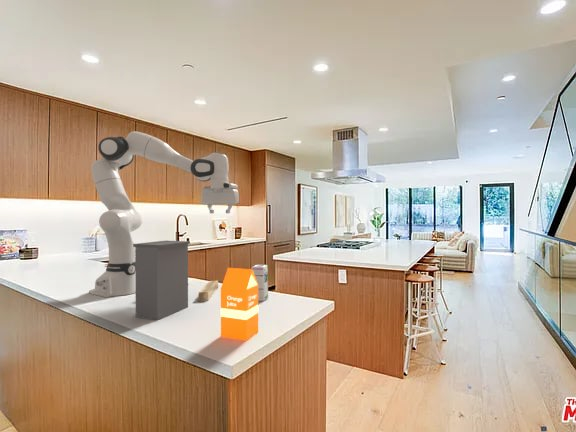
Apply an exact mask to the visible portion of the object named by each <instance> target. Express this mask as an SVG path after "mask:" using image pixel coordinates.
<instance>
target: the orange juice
mask: <svg viewBox="0 0 576 432" xmlns="http://www.w3.org/2000/svg"><path fill="white" fill-rule="evenodd" d="M258 333H259V301H258V283H257V281H256V278H255V275H254V273H253V270H252V269H251V268H237V267H235V268H234V267H227V270H226V272H225V275H224V279H223V281H222V284H221V287H220V337H221V338H222V337H223V338H228V339H233V340H241V341H246V342H247V341H248V340H249V339H250V338H253V336H255V335H256V334H258Z"/></svg>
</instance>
